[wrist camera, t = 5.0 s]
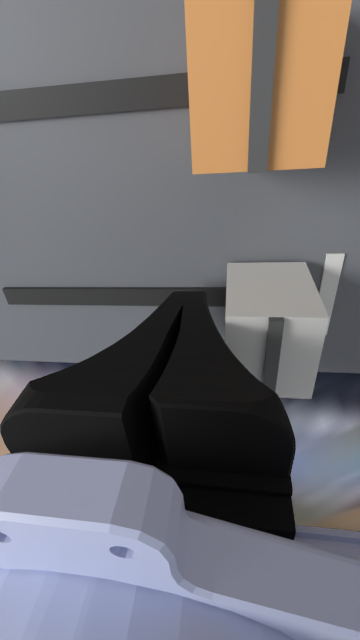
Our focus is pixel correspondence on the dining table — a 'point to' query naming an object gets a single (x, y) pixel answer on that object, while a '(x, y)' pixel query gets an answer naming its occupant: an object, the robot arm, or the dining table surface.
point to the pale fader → (276, 324)
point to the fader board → (147, 186)
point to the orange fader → (263, 82)
